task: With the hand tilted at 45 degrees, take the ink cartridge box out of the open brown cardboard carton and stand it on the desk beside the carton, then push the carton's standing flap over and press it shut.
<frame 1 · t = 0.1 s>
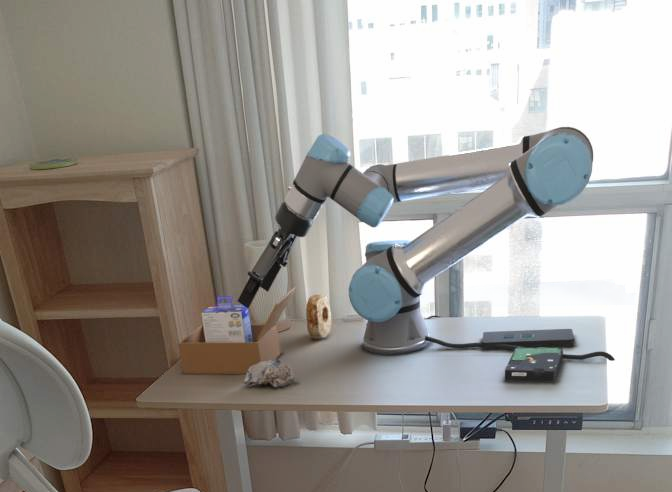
hand: (253, 296, 205), 15 cm above the table, tool tilted 35°, fingers open, 13 cm apart
mineral specimen: (270, 385, 201), on the table
disk drive: (534, 371, 194), on the table
stone disc: (321, 338, 227), on the table
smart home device: (527, 343, 210), on the table
flap: (276, 312, 206), point 11 cm above the table, hinge at 125.0°
carton: (232, 363, 215), on the table
ink cartridge box: (232, 362, 215), resting on carton
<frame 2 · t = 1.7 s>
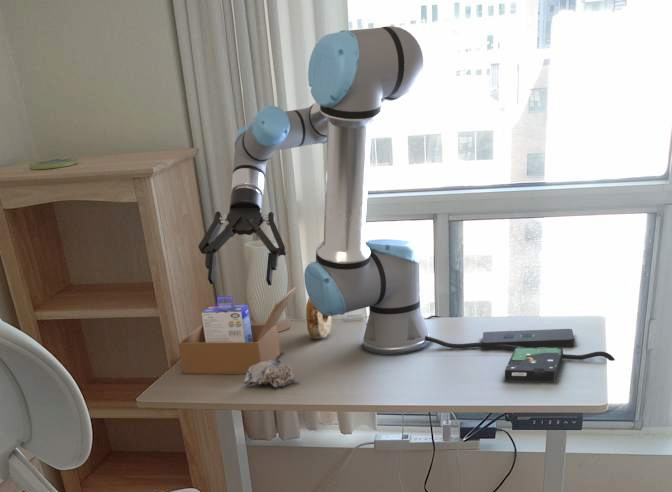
hand: (239, 282, 213), 16 cm above the table, tool tilted 40°, fingers open, 13 cm apart
nothing on the table moved.
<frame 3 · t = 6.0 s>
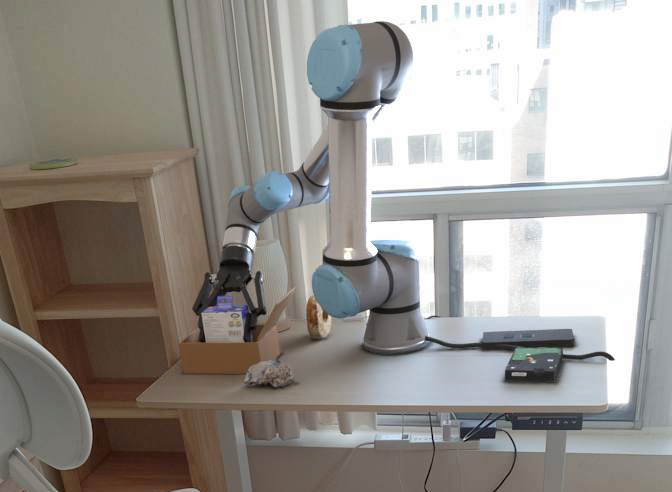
hand: (224, 342, 210), 6 cm above the table, tool tilted 45°, fingers closed on ink cartridge box, 10 cm apart
ink cartridge box: (232, 362, 215), resting on carton, touching gripper
everything else where it was.
when the fingers open (5 cm above the table, at t = 15.9 s): ink cartridge box stays where it is, on the table.
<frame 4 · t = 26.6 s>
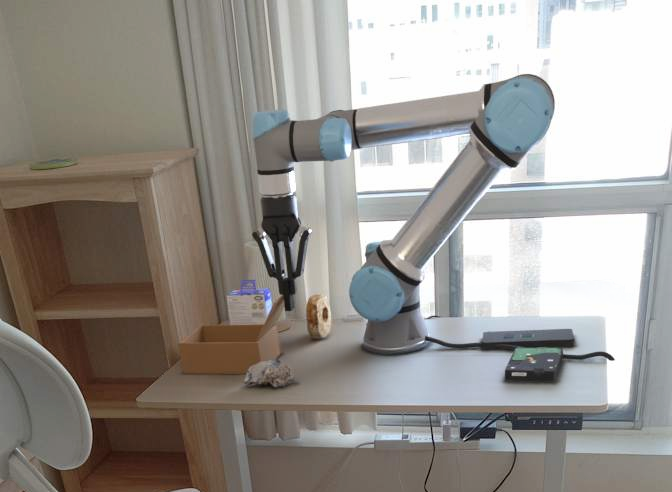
hand: (289, 309, 205), 12 cm above the table, tool pointing down, fingers closed
flap: (276, 312, 206), point 12 cm above the table, hinge at 122.1°, touching gripper
ink cartridge box: (254, 342, 228), on the table
everything else where it was.
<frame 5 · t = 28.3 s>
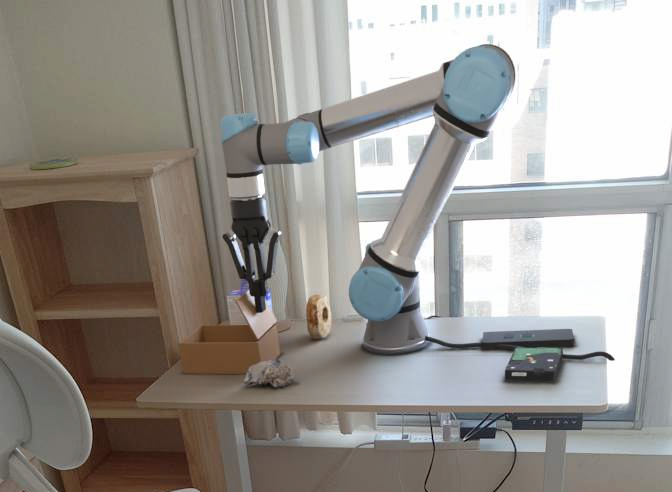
hand: (261, 310, 207), 12 cm above the table, tool pointing down, fingers closed
flap: (256, 311, 207), point 12 cm above the table, hinge at 65.8°, touching gripper
everything else where it was.
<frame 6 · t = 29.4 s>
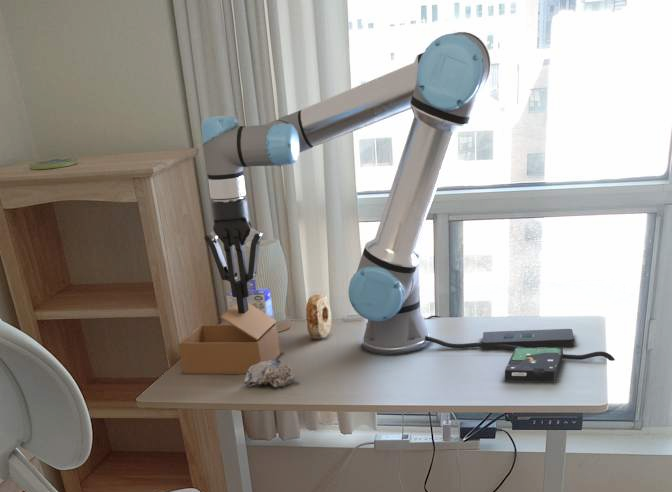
hand: (243, 311, 208), 12 cm above the table, tool pointing down, fingers closed
flap: (249, 319, 208), point 10 cm above the table, hinge at 33.1°
everything else where it was.
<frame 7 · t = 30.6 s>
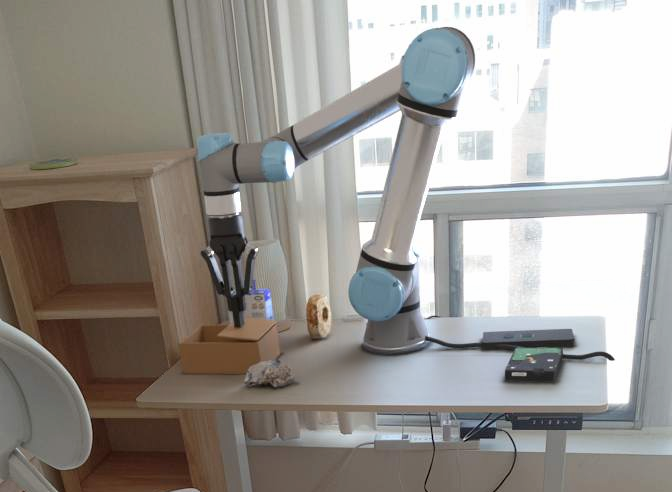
hand: (239, 325, 210), 9 cm above the table, tool pointing down, fingers closed
flap: (247, 328, 210), point 8 cm above the table, hinge at 5.8°, touching gripper
everything else where it was.
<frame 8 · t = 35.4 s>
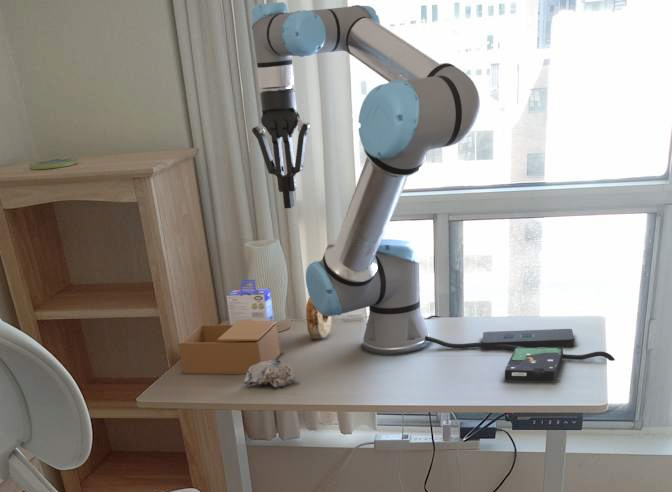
hand: (289, 206, 210), 30 cm above the table, tool pointing down, fingers closed
flap: (247, 330, 210), point 8 cm above the table, hinge at 0.5°
everything else where it was.
at the end: ink cartridge box inside the target area (0.1 cm from its centre), on the table; ink cartridge box tilted 0°; flap at +0° (first picture: +125°) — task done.
